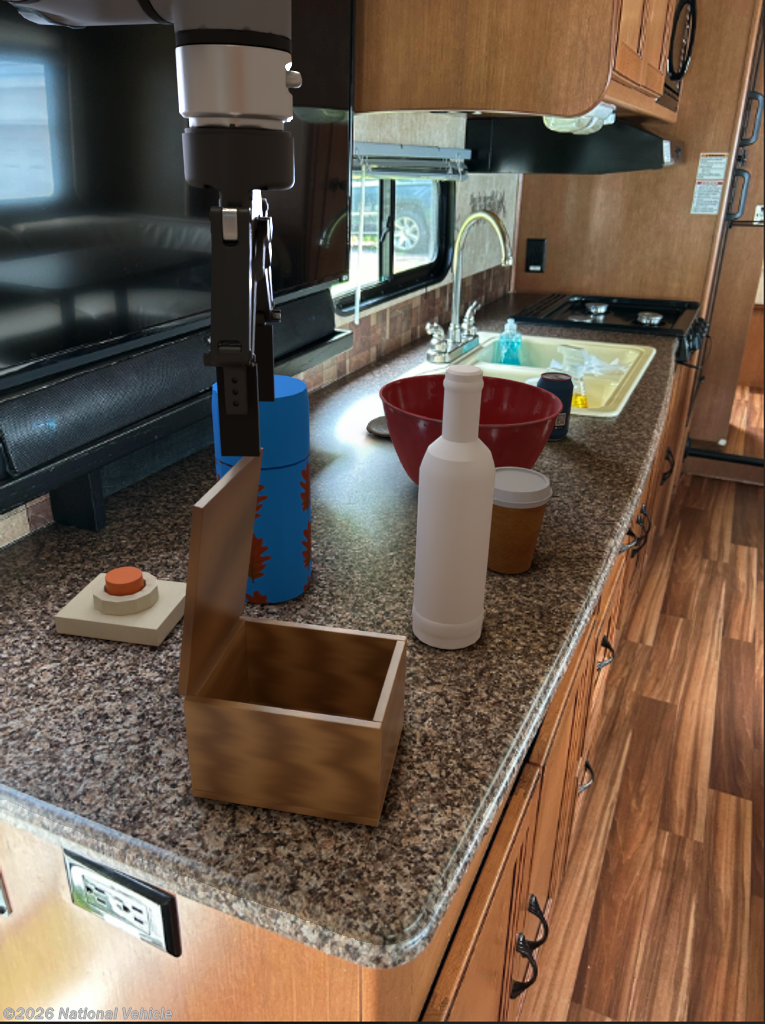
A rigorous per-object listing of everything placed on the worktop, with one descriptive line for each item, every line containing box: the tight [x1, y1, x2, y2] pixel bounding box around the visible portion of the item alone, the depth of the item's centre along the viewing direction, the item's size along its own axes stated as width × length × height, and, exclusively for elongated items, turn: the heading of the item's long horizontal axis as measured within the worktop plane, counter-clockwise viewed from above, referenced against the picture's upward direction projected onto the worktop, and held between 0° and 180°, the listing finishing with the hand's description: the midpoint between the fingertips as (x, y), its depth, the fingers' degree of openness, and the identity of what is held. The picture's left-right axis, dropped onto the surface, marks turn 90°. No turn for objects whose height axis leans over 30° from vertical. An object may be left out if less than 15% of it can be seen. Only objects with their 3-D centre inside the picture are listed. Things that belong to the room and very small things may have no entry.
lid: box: [365, 415, 391, 438], centre depth 149 cm, size 11×10×5 cm
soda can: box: [536, 371, 575, 442], centre depth 148 cm, size 7×7×12 cm
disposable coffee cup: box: [487, 467, 553, 575], centre depth 100 cm, size 10×10×12 cm
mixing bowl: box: [378, 373, 563, 487], centre depth 122 cm, size 28×28×16 cm
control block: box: [53, 571, 187, 647], centre depth 87 cm, size 12×10×4 cm
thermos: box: [211, 374, 313, 605], centre depth 91 cm, size 11×11×25 cm
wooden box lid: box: [177, 447, 263, 697], centre depth 61 cm, size 16×13×1 cm
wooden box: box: [182, 615, 408, 828], centre depth 66 cm, size 16×13×10 cm
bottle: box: [411, 364, 496, 650], centre depth 81 cm, size 8×8×30 cm
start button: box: [105, 566, 144, 596], centre depth 86 cm, size 4×4×2 cm
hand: (251, 425), depth 61 cm, fingers open, 13 cm apart
